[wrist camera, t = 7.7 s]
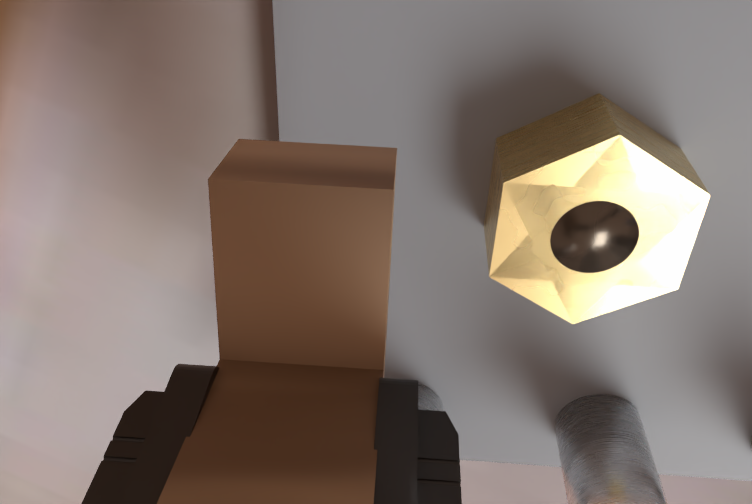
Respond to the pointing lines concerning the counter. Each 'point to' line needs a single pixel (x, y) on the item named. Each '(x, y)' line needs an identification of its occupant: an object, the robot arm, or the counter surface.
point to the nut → (590, 211)
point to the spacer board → (470, 194)
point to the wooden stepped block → (294, 327)
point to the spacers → (597, 450)
